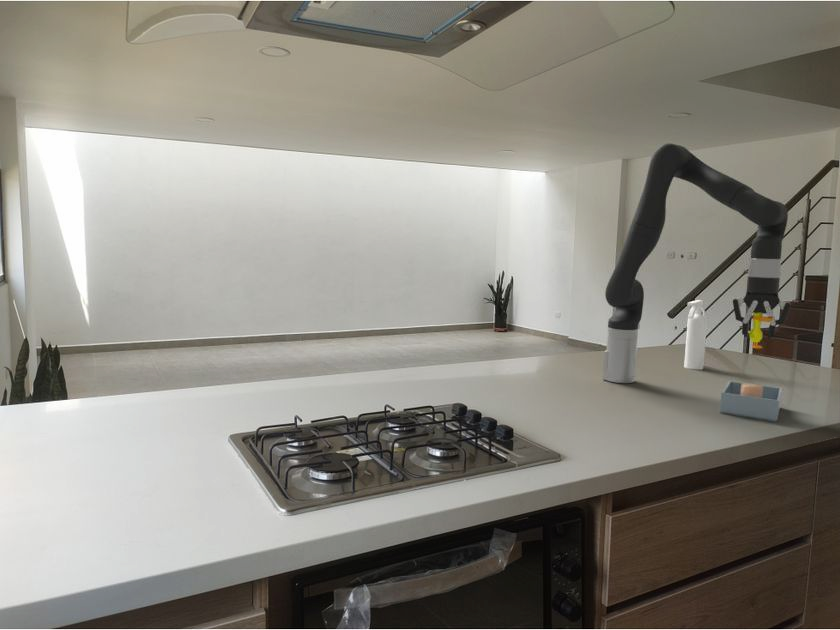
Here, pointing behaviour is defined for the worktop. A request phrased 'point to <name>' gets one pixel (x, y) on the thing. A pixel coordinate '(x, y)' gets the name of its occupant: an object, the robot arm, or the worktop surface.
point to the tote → (751, 402)
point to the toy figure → (757, 328)
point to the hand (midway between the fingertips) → (757, 337)
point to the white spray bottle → (695, 336)
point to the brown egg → (751, 390)
